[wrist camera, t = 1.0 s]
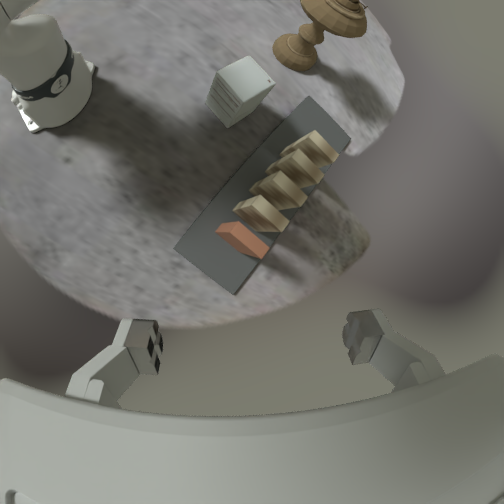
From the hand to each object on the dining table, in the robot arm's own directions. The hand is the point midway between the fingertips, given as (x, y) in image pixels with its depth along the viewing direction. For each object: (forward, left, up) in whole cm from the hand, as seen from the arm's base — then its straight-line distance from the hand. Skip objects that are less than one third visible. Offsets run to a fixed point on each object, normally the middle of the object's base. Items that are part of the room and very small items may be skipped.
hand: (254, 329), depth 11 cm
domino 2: (+5, +22, -39) cm, 45 cm away
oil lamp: (-12, +51, -40) cm, 66 cm away
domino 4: (+5, +12, -39) cm, 41 cm away
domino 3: (+5, +17, -39) cm, 43 cm away
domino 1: (+5, +27, -39) cm, 48 cm away
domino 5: (+5, +7, -39) cm, 40 cm away
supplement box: (-12, +27, -40) cm, 50 cm away
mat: (+5, +21, -40) cm, 45 cm away
